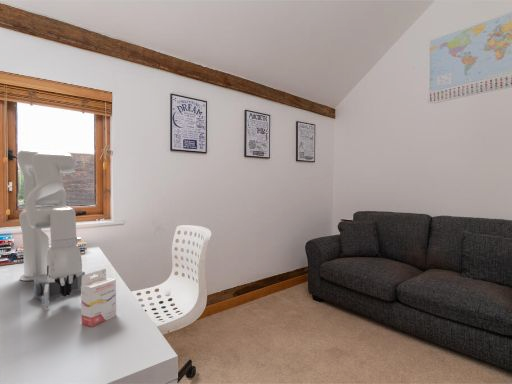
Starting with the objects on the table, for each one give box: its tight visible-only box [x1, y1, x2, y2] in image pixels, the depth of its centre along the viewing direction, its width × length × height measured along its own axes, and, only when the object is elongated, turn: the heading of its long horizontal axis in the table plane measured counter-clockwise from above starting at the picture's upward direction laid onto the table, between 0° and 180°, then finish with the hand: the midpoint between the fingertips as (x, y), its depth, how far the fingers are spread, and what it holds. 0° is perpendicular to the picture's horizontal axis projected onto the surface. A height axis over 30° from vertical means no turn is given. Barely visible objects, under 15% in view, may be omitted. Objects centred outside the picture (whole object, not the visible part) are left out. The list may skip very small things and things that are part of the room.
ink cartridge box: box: [80, 268, 117, 328], centre depth 89 cm, size 9×5×15 cm, turn 155°
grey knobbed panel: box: [33, 271, 86, 301], centre depth 112 cm, size 9×16×8 cm, turn 146°
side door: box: [41, 282, 50, 310], centre depth 100 cm, size 2×12×6 cm, turn 34°
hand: (65, 295), depth 102 cm, fingers closed
